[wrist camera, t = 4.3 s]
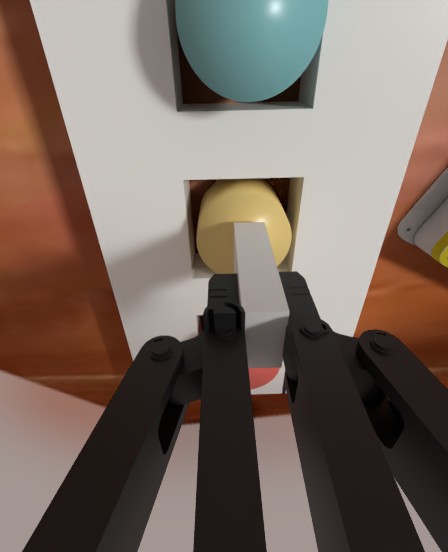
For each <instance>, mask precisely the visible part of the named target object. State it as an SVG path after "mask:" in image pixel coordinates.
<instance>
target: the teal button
mask: <svg viewBox="0 0 448 552" xmlns="http://www.w3.org/2000/svg"><path fill="white" fill-rule="evenodd" d="M327 10H328V0H175V13H176V24H177V31H178V35H179V39H180V43H181V46H182V48H183V51H184V54H185V56H186V58H187V60H188V62H189V64H190V66H191V67H192V69H193V70H194V72H195V73H196V75H197V76H198V77H199V78H200V79H201V81H202V82H203V83H204V84H206V85H207V86H208V87H209V88H210V89H211V90H213V91H214V92H216V93H217V94H219V95H221V96H223V97H225V98H228V99H231V100H234V101H239V102H257V101H262V100H266V99H269V98H271V97H274V96H276V95H277V94H279V93H281V92H283V91H284V90H285V89H287V88H288V87H289V86H291V85H292V84H293V83H294V82H295V81H296V80H297V79H298V78H299V77H300V76H301V75H302V73H303V72H304V71H305V70H306V68H307V67H308V65H309V64H310V62H311V60H312V59H313V57H314V55H315V53H316V51H317V49H318V46H319V44H320V41H321V38H322V35H323V31H324V28H325V23H326V18H327Z"/></svg>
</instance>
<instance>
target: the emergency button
mask: <svg viewBox="0 0 448 552" xmlns="http://www.w3.org/2000/svg"><path fill="white" fill-rule="evenodd" d="M397 232H398V235H399V236H400V237H401V238H402V239H403V240H404V241H406V242H408V243H410V244H412V245H414V246H416V247H418V248H420V249H422V250H423V251H425V252H426V253H427V254H429V255H430V256H431V257H433V259H434V260H436V261H437V262H439V263H441V264H442V265H444V266H446V267H448V167H447V168H446V170H445V171H444V172H443V173H442V174H441V175H440V176H439V178H438V179H437V180H436V181H435V182H434V183H433V184H432V186H431V187H430V188H429V189H428V190H427V191H426V193H425V194H424V195H423V196H422V197H421V198H420V199H419V201H418V202H417V203H416V204H415V205H414V206H413V208H412V209H411V210H410V211H409V212H408V213H407V214H406V216H405V217H404V218H403V219H402V220H401V221H400V223H399V225H398V227H397Z"/></svg>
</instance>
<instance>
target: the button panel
mask: <svg viewBox="0 0 448 552" xmlns="http://www.w3.org/2000/svg"><path fill="white" fill-rule="evenodd" d="M30 3H31V7H32V10H33V14H34V17H35V21H36V24H37V27H38V31H39V34H40V38H41V41H42V45H43V48H44V52H45V55H46V59H47V62H48V66H49V69H50V73H51V76H52V80H53V83H54V87H55V90H56V94H57V97H58V101H59V104H60V108H61V111H62V115H63V118H64V122H65V125H66V129H67V132H68V136H69V139H70V143H71V146H72V150H73V153H74V156H75V160H76V163H77V167H78V170H79V174H80V177H81V181H82V184H83V188H84V191H85V195H86V198H87V202H88V205H89V209H90V212H91V216H92V219H93V223H94V226H95V230H96V233H97V237H98V240H99V244H100V247H101V251H102V254H103V258H104V261H105V265H106V268H107V272H108V275H109V278H110V282H111V285H112V289H113V292H114V296H115V299H116V303H117V306H118V310H119V313H120V317H121V320H122V324H123V327H124V331H125V334H126V338H127V341H128V345H129V348H130V352H131V355H132V359H133V361H134V359H135V357H136V356H137V354H138V352H139V351H140V349H141V347H142V346H143V345H144V344H145V343H146V342H147V341H148V340H150V339H152V338H154V337H157V336H161V335H165V336H172V337H175V338H176V339H178V340H179V341H180V342H182V341H185V340H189V339H191V338H194V337H196V336H197V335H199V334H200V333H201V332H202V326H201V315H203V312H204V310H205V308H206V307H207V301H208V281H209V280H210V278H211V277H212V276H213V274H217V273H215V272H214V271H212V270H211V269H210V268H209V267H208V266H207V265H206V264H205V263H204V262H203V260H202V258H201V257H200V254H199V253H195V243H194V231H193V219H192V207H191V195H190V183H189V180H208V179H249V178H290V184H289V194H288V203H287V213H286V216H287V218H288V221H289V223H290V227H291V233H292V238H291V245H290V248H289V251H288V253H287V255H286V257H285V258H284V260H283V261H282V262H281V263H280V264H279V265H278V266H277V269H278V272H288V271H297V272H298V273H299V274H300V275H302V276H303V277H304V278H305V280H306V283H307V285H308V288H309V291H310V294H311V296H312V298H313V301H314V303H315V306H316V308H317V311H318V313H319V316H320V319H321V320H323V321H325V322H326V323H327V324H329V326H330V327H331V329H332V330H333V331H334V332H336V333H339V334H342V335H346V336H350V337H353V335H354V332H355V329H356V326H357V323H358V319H359V316H360V313H361V310H362V307H363V304H364V301H365V297H366V294H367V291H368V288H369V285H370V282H371V279H372V275H373V272H374V269H375V266H376V263H377V260H378V257H379V253H380V250H381V247H382V244H383V241H384V238H385V235H386V231H387V228H388V225H389V222H390V219H391V216H392V213H393V209H394V206H395V203H396V200H397V197H398V194H399V191H400V187H401V184H402V181H403V178H404V175H405V172H406V169H407V165H408V162H409V159H410V156H411V153H412V150H413V147H414V143H415V140H416V137H417V134H418V131H419V128H420V124H421V121H422V118H423V115H424V112H425V109H426V106H427V102H428V99H429V96H430V93H431V90H432V87H433V84H434V80H435V77H436V74H437V71H438V68H439V65H440V62H441V58H442V55H443V52H444V49H445V46H446V43H447V40H448V0H328V10H327V18H326V23H325V28H324V31H323V35H322V38H321V41H320V44H319V46H318V49H317V51H316V53H315V55H314V57H313V59H312V60H311V62H310V64H309V65H308V67H307V68H306V70H305V71H304V72H303V73H302V75H301V80H300V90H299V99H298V101H292V102H249V103H206V104H183V100H182V88H181V76H180V64H179V52H178V40H177V28H176V16H175V4H174V0H30ZM284 374H285V366H284V361H283V362H282V368H280V369H279V372H278V374H277V375H276V377H275V378H274V379H273V380H272V381H270V382H269V383H267V384H266V385H264V386H261V387H259V388H256V389H251V394H282V388H283V381H284ZM285 393H287V392H285Z"/></svg>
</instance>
